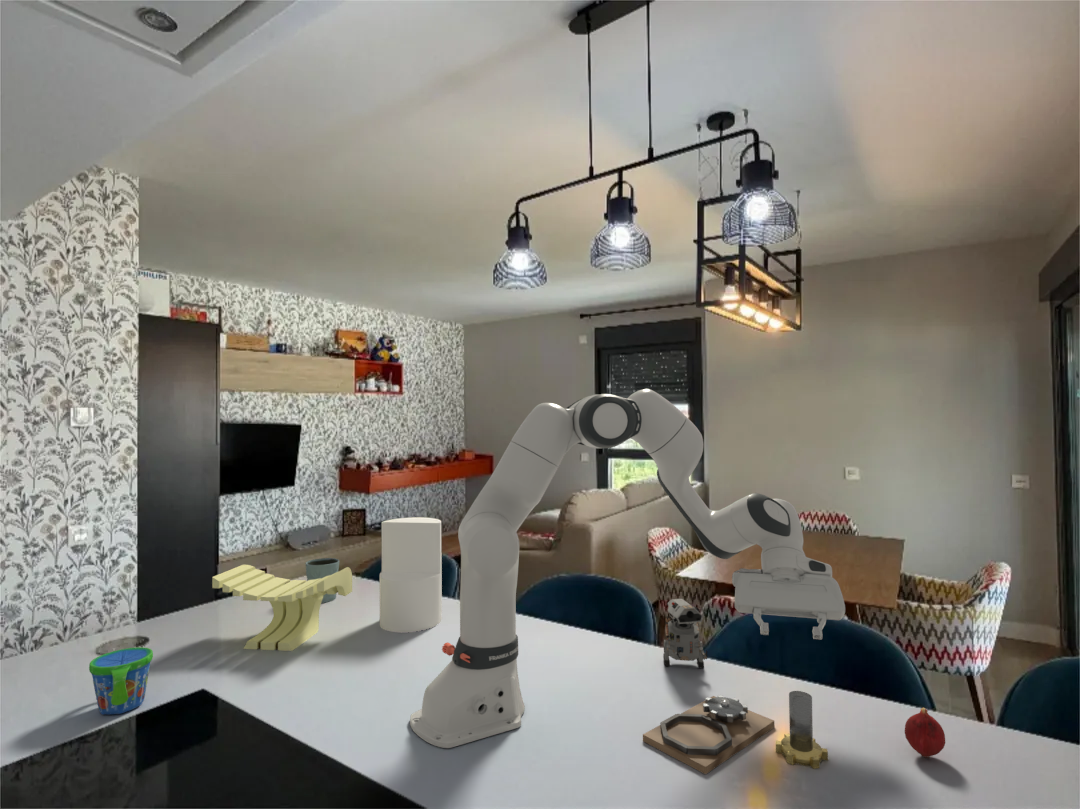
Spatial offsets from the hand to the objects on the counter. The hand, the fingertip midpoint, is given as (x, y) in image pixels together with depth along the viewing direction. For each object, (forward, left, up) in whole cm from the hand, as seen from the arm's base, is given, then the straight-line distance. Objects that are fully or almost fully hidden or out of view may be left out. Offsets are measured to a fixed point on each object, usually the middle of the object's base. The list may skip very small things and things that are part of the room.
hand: (791, 635), depth 114 cm
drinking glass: (-39, +135, -16) cm, 142 cm away
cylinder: (-28, +97, -16) cm, 103 cm away
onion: (+5, -21, -16) cm, 27 cm away
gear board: (-16, +7, -16) cm, 24 cm away
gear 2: (-10, -7, -16) cm, 20 cm away
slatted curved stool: (-59, +108, -16) cm, 124 cm away
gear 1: (-11, +7, -14) cm, 20 cm away
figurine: (+4, +27, -16) cm, 32 cm away
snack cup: (-96, +91, -16) cm, 134 cm away
